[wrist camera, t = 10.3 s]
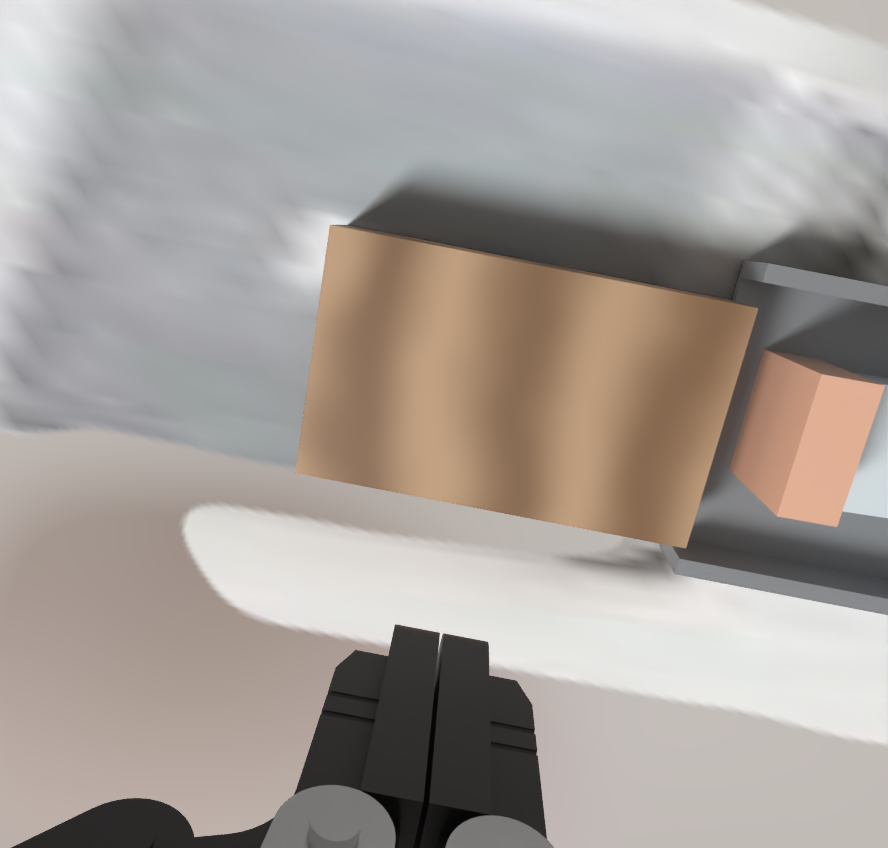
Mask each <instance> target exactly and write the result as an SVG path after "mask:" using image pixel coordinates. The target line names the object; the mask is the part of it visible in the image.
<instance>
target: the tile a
mask: <svg viewBox="0 0 888 848" xmlns="http://www.w3.org/2000/svg"><path fill="white" fill-rule="evenodd" d="M884 388H885V385H883V384H880V383H878V382H875V381H873V380H870V379H867V378H865V377H862V376H860V375H857V374H855V373H852V372H850V371H847V370H845V369H842V368H840V367H837V366H835V365H832V364H830V363H827V362H825V361H822V360H819V359H817V358H812V357H806V356H800V355H795V354H789V353H783V352H778V351H772V350H766V349H764V350H763V353H762V357H761V360H760V364H759V367H758V371H757V374H756V378H755V381H754V384H753V388H752V391H751V395H750V398H749V402H748V405H747V409H746V412H745V415H744V419H743V422H742V426H741V429H740V433H739V436H738V439H737V443H736V446H735V450H734V453H733V457H732V460H731V464H730V467H729V470H730V471H731V472H732V473H733V474H734V475H735V476H736V477H737V478H738V479H739V480H740V481H741V482H742V483H743V484H744V485H745V486H746V487H747V488H748V489H749V490H750V491H752V492H753V493H754V494H755V495H756V496H757V497H758V498H759V499H760V500H761V501H762V502H763V503H764V504H765V505H766V506H767V507H768V508H769V509H770V510H771V511H772V512H773V513H774V514H775V515H776V516H778V517H783V518H789V519H795V520H800V521H806V522H811V523H817V524H823V525H828V526H834V527H837V526H838V523H839V520H840V517H841V514H842V511H843V508H844V505H845V502H846V500H847V497H848V494H849V491H850V488H851V485H852V482H853V479H854V476H855V473H856V470H857V467H858V464H859V461H860V458H861V455H862V453H863V450H864V447H865V444H866V441H867V438H868V435H869V432H870V429H871V426H872V423H873V420H874V417H875V414H876V411H877V408H878V405H879V403H880V400H881V397H882V394H883V391H884Z"/></svg>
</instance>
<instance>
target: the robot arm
mask: <svg viewBox="0 0 888 848" xmlns="http://www.w3.org/2000/svg"><path fill="white" fill-rule="evenodd" d="M439 635H440V633H437V632H432V631H427V630H422V629H417V628H411V627H406V626H401V625H396V624H395V628H394V632H393V637H392V642H391V647H390V651H389V656H384V655H378V654H373V653H368V652H363V651H357V650H355V651H354V652H353V653H352V654H351V655H350V656H349V657H347V658H346V659H345V660H344V661H343V662H341V663H340V664H339V665H338V666H337V667H336V669H335V672H334V675H333V678H332V681H331V684H330V687H329V691H328V695H327V697H326V700H325V703H324V706H323V709H322V714H321V715H320V718H319V721H318V724H317V728H316V731H315V734H314V737H313V740H312V743H311V746H310V749H309V752H308V755H307V758H306V762H305V765H304V768H303V771H302V774H301V777H300V780H299V783H298V786H297V789H296V791H295V794H294V795H293V796H292V797H291V798H289V799H288V800H287V801H286V802H285V803H284V804H283V805H282V806H281V807H280V808H279V810H278V811H277V813H276V815H275V817H274V818H273V819H271V820H270V821H268V822H266V823H264V824H262V825H260V826H258V827H255V828H253V829H250V830H246V831H243V832H239V833H232V834H226V835H225V834H224V835H214V836H203V837H194V834H193V831H192V828H191V826H190V824H189V822H188V821H187V820H186V818H185V817H184V816H183V815H182V814H181V813H180V812H179V811H178V810H176V809H175V808H173V807H171V806H170V805H167V804H165V803H162V802H159V801H155V800H151V799H140V798H133V799H122V800H116V801H112V802H108V803H105V804H102V805H100V806H97V807H95V808H92V809H91V810H88V811H86V812H84V813H82V814H80V815H78V816H76V817H74V818H72V819H70V820H68V821H65V822H64V823H61V824H59V825H57V826H55V827H53V828H51V829H49V830H47V831H45V832H43V833H41V834H39V835H37V836H34V837H32V838H31V839H28V840H26V841H24V842H22V843H20V844H18V845H16V846H14V847H12V848H554V847H553V846H552V845H551V844H550V843H549V841H548V840H547V837H546V828H545V819H544V809H543V801H542V791H541V783H540V773H539V764H538V756H536V753H537V746H536V736H535V734H534V730H535V728H534V718H533V709H532V704H531V702H530V701H529V699H528V698H527V696H526V695H525V693H524V692H523V690H522V689H521V687H520V685H519V684H518V682H517V681H515V680H510V679H504V678H499V677H494V676H489V645H488V642H485V641H480V640H475V639H470V638H464V637H459V636H454V635H449V634H444V633H443V635H442V639H441V643H440V647H439V652H438V646H439ZM437 656H438V657H437Z"/></svg>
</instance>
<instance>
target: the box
mask: <svg viewBox="0 0 888 848" xmlns="http://www.w3.org/2000/svg"><path fill="white" fill-rule="evenodd" d="M732 300H733V301H736V302H739V303H743V304H746V305H749V306H753V307H756V308H758V312H757V315H756V318H755V321H754V325H753V328H752V331H751V335H750V338H749V341H748V345H747V348H746V351H745V355H744V358H743V361H742V365H741V368H740V371H739V375H738V378H737V381H736V385H735V388H734V391H733V394H732V398H731V401H730V404H729V408H728V411H727V414H726V418H725V421H724V424H723V428H722V431H721V434H720V438H719V441H718V444H717V448H716V451H715V454H714V458H713V461H712V464H711V467H710V471H709V474H708V477H707V481H706V484H705V487H704V491H703V494H702V497H701V501H700V504H699V507H698V511H697V514H696V517H695V521H694V524H693V527H692V531H691V534H690V537H689V540H688V544H687V547H686V548H681V547H676V546H671V545H665V544H661V545H660V548H661V550H662V552H663V553H664V555H665V557H666V559H667V561H668V562H669V564H670V566H671V568H672V570H673V571H674V573H675V574H678V575H683V576H689V577H694V578H699V579H704V580H709V581H714V582H720V583H725V584H730V585H735V586H740V587H745V588H751V589H756V590H761V591H766V592H771V593H776V594H782V595H787V596H792V597H797V598H802V599H808V600H813V601H818V602H823V603H828V604H833V605H839V606H844V607H849V608H854V609H859V610H864V611H870V612H875V613H880V614H885V615H888V518H883V517H876V516H869V515H863V514H856V513H849V512H843V511H842V514H841V517H840V520H839V523H838V526H837V527H834V526H828V525H823V524H817V523H811V522H806V521H800V520H795V519H789V518H783V517H778V516H776V515H775V514H774V513H773V512H772V511H771V510H770V509H769V508H768V507H767V506H766V505H765V504H764V503H763V502H762V501H761V500H760V499H759V498H758V497H757V496H756V495H755V494H754V493H753V492H752V491H750V490H749V489H748V488H747V487H746V486H745V485H744V484H743V483H742V482H741V481H740V480H739V479H738V478H737V477H736V476H735V475H734V474H733V473H732V472H731V471H730V470H729V467H730V464H731V460H732V457H733V453H734V450H735V446H736V443H737V439H738V436H739V433H740V429H741V426H742V422H743V419H744V415H745V412H746V409H747V405H748V402H749V398H750V395H751V391H752V388H753V384H754V381H755V378H756V374H757V371H758V367H759V364H760V360H761V357H762V353H763V350H764V349H766V350H772V351H778V352H783V353H789V354H795V355H800V356H806V357H812V358H817V359H819V360H822V361H825V362H827V363H830V364H832V365H835V366H837V367H840V368H842V369H845V370H847V371H850V372H852V373H859V374H865V375H872V376H879V377H885V378H888V286H883V285H878V284H873V283H868V282H863V281H858V280H852V279H847V278H842V277H837V276H832V275H827V274H822V273H817V272H811V271H806V270H801V269H796V268H791V267H786V266H781V265H775V264H770V263H764V262H756V261H748V260H743V263H742V266H741V270H740V273H739V277H738V280H737V284H736V287H735V290H734V294H733V297H732Z"/></svg>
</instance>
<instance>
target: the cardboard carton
mask: <svg viewBox="0 0 888 848" xmlns="http://www.w3.org/2000/svg"><path fill="white" fill-rule="evenodd" d="M757 312H758V308H756V307H753V306H749V305H746V304H743V303H739V302H736V301H733V300H729V299H725V298H720V297H715V296H710V295H705V294H699V293H694V292H689V291H684V290H679V289H674V288H669V287H663V286H658V285H653V284H648V283H643V282H638V281H633V280H627V279H622V278H617V277H612V276H607V275H602V274H597V273H591V272H586V271H581V270H576V269H571V268H566V267H561V266H555V265H550V264H545V263H540V262H535V261H530V260H525V259H519V258H514V257H509V256H504V255H499V254H494V253H489V252H483V251H478V250H473V249H468V248H463V247H458V246H453V245H447V244H442V243H437V242H432V241H427V240H422V239H417V238H411V237H406V236H401V235H396V234H391V233H386V232H381V231H375V230H370V229H365V228H360V227H355V226H350V225H330V229H329V236H328V243H327V250H326V258H325V265H324V272H323V279H322V286H321V293H320V300H319V307H318V315H317V322H316V329H315V336H314V343H313V350H312V357H311V364H310V372H309V379H308V386H307V393H306V400H305V407H304V414H303V422H302V429H301V436H300V443H299V450H298V457H297V464H296V471H295V473H298V474H303V475H309V476H314V477H319V478H324V479H330V480H334V481H340V482H345V483H350V484H355V485H360V486H365V487H371V488H376V489H381V490H386V491H391V492H397V493H402V494H407V495H412V496H417V497H422V498H428V499H433V500H438V501H443V502H448V503H453V504H459V505H464V506H469V507H474V508H480V509H484V510H490V511H495V512H500V513H505V514H510V515H516V516H521V517H526V518H531V519H536V520H542V521H547V522H552V523H557V524H562V525H567V526H572V527H578V528H583V529H588V530H593V531H598V532H603V533H609V534H614V535H619V536H624V537H629V538H634V539H640V540H645V541H650V542H655V543H660V544H665V545H671V546H676V547H681V548H686V547H687V544H688V540H689V537H690V534H691V531H692V527H693V524H694V521H695V517H696V514H697V511H698V507H699V504H700V501H701V497H702V494H703V491H704V487H705V484H706V481H707V477H708V474H709V471H710V467H711V464H712V461H713V458H714V454H715V451H716V448H717V444H718V441H719V438H720V434H721V431H722V428H723V424H724V421H725V418H726V414H727V411H728V408H729V404H730V401H731V398H732V394H733V391H734V388H735V385H736V381H737V378H738V375H739V371H740V368H741V365H742V361H743V358H744V355H745V351H746V348H747V345H748V341H749V338H750V335H751V331H752V328H753V325H754V321H755V318H756V315H757Z"/></svg>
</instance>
